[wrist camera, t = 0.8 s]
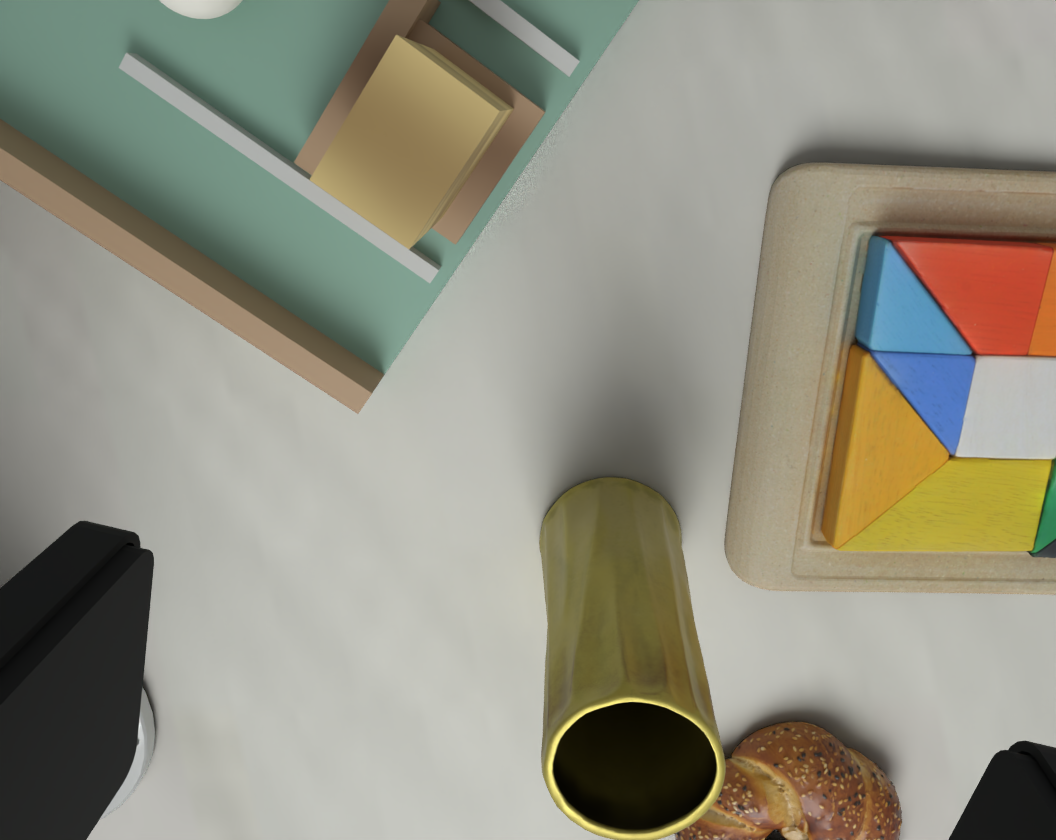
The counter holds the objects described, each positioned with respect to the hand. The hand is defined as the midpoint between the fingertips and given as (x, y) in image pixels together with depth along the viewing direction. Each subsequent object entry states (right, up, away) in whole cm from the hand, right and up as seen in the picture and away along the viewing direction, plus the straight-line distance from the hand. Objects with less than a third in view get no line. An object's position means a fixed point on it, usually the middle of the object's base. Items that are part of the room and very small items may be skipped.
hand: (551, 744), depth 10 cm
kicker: (-4, +14, +22) cm, 27 cm away
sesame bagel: (+12, -16, +34) cm, 40 cm away
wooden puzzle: (+18, +5, +27) cm, 33 cm away
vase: (+3, -2, +29) cm, 29 cm away
